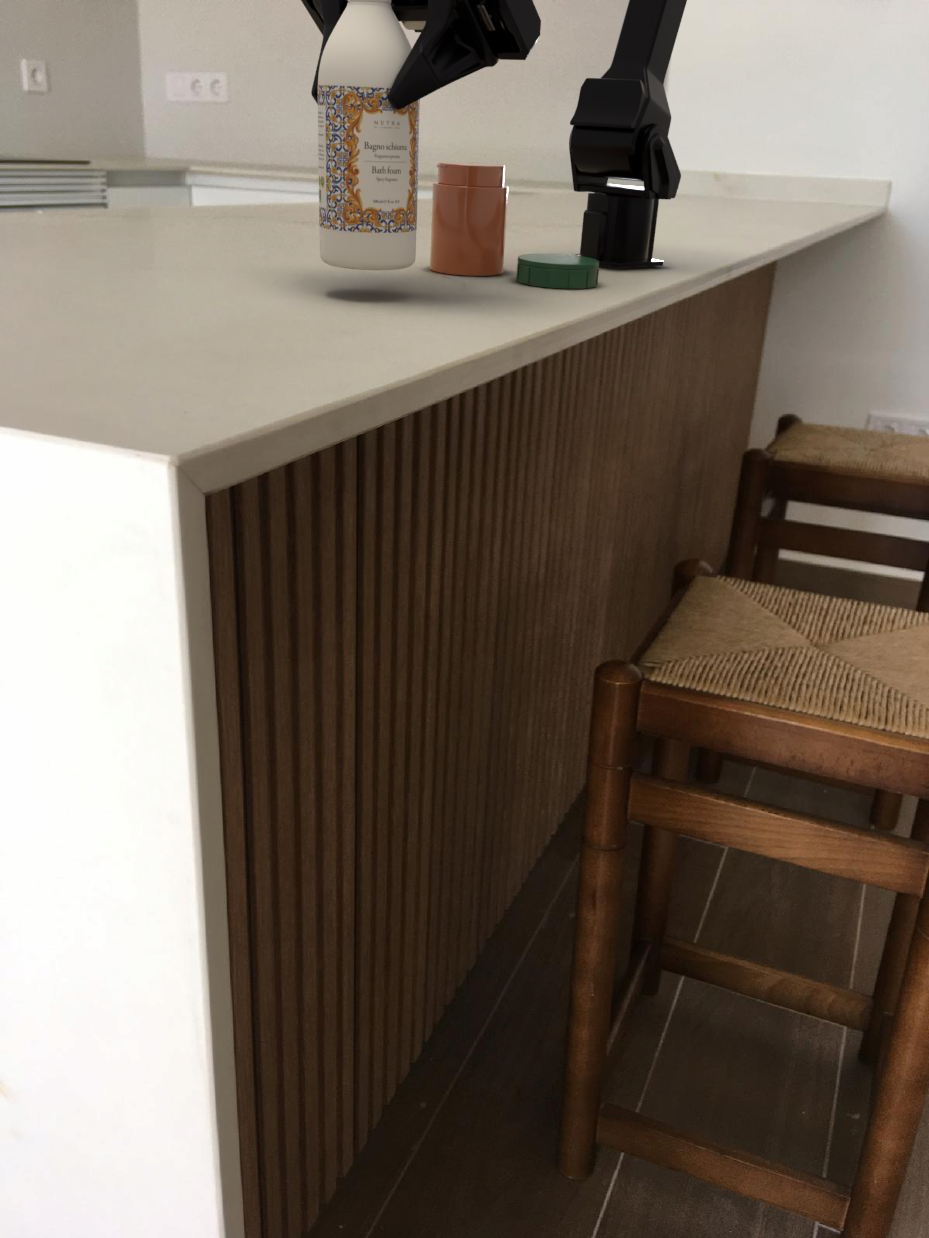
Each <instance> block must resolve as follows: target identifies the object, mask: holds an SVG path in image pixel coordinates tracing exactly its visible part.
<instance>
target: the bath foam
mask: <svg viewBox="0 0 929 1238" xmlns="http://www.w3.org/2000/svg"><path fill="white" fill-rule="evenodd" d="M390 4H391V0H348V3H347V7H346V8H345V10H344V12H343V14H342V15H341V17H340V19H339V21H338V22H337V24H336V26H335V28H334V29H333V31H332V33H331V35H330V37H329V39H328V41H327V43H326V46H325V48H324V51H323V54H322V58H321V62H320V67H319V75H318V85H317V86H318V104H317V144H318V145H317V146H318V147H317V149H318V152H317V153H318V155H317V156H318V223H319V224H318V226H319V255H320V259H321V261H322V262H323V263H324V264H326V265H328V266H331V267H335V268H339V269H340V268H341V269H348V270H359V271H393V270H403V269H407V268H409V267H412V266H413V265H414V263H415V262H416V257H417V230H418V193H419V192H418V190H419V189H418V188H419V187H418V186H419V151H420V150H419V148H420V147H419V145H420V142H419V141H420V110H421V109H420V107H421V105H420V101H421V99H419V100H417V101H415V102H413V103H411V104H409V105H408V106H406V107H404V108H402V109H400V110H395V109H393V107H392V106H391V104H390V102H389V101H388V94H389V92H390V90H391V87H392V85H393V83H394V81H395V78H396V76H397V75H398V73H399V71H400V69H401V67H402V66H403V64H404V62H405V60H406V58H407V57H408V55H409V53H410V51H411V50H412V48H413V47H412V46H411V44H410V41H409V38H408V37H407V35H406V33H405V31H404V29H403V27H402V25H401V23H400V21H398V19H397V18H396V16H395V14H394V12H393V10H392V8H391V5H390Z"/></svg>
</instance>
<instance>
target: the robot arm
mask: <svg viewBox="0 0 929 1238" xmlns="http://www.w3.org/2000/svg"><path fill="white" fill-rule="evenodd" d="M300 1H301V3H302V4H303V6H304V8H305V9H306V11H307V12H308V14H309V16H310V17H311V20H313V22H314V24H315V25H316V27H317V29H318V30H319V32H320V33H321V35H322V41H321V46H320V51H319V55H318V60H317V64H316V68H315V73H314V74H315V75H314V78H313V82H312V86H311V92H310V93H311V97H312V98H313V100H314V101H315V102H316V104H317V105H318V86H317V85H318V75H319V67H320V62H321V58H322V54H323V51H324V48H325V46H326V43H327V41H328V39H329V37H330V35H331V33H332V31H333V29H334V28H335V26H336V24H337V22H338V21H339V19H340V17H341V15H342V14H343V12H344V10H345V8H346V7H347V3H348V0H300ZM687 2H688V0H628V3H627V7H626V11H625V14H624V17H623V20H622V21H623V22H622V23H621V28H620V32H619V35H618V40H617V43H616V46H615V50H614V53H613V54H614V55H613V57H612V61H611V63H610V67H609V68H608V69H607V70H606V72H604V74H603V75H602V76H601V77H586V78H585V79H584V82H583V83H582V85H581V87H580V89H579V94H578V100H577V104H576V107H575V111H574V113H573V115H572V118H571V119H570V121H569V125H570V126H572V129H571V131H570V134H569V140H568V149H569V159H570V168H571V169H570V170H571V175H572V176H571V177H572V178H571V179H572V187H573V188H572V189H573V191H574V192H577V193H587V200H586V201H587V202H586V204H587V205H586V209H585V210H584V212H583V215H582V228H581V238H580V249H579V253H572V254H571V255H574V256H582V257H588V258H592V259H596V260H598V261H599V266H602V267H603V266H604V267H609V268H614V269H620V268H643V267H663V266H664V260H661V259H656V258H653V254H654V245H655V238H656V237H655V236H656V229H657V221H658V214H659V213H658V212H659V204H660V200H672V199H675V198H676V196H677V192H678V189H679V185H680V182H681V179H682V174H681V173H682V172H681V170H680V167H679V164H678V161H677V159H676V156H675V153H674V150H673V147H672V144H671V141H670V139H669V134H670V128H671V123H672V113H671V109H670V106H669V102H668V101H669V100H668V98H667V95H666V94H667V93H666V90H665V89H666V88H665V86H664V84H665V79H666V76H667V75H666V74H667V72H668V68H669V64H670V61H671V57H672V53H673V50H674V49H675V48H674V47H675V44H676V40H677V36H678V33H679V30H680V26H681V23H682V20H683V17H684V12H685V10H686V6H687ZM390 5H391V8H392V10H393V12H394V14H395V16H396V18H397V19H398V21H399V22H401V24H402V26H403V27H404V28H405V29H406V30H410V31H414V33H419V35H418V37H417V39H416V41H415V43H414V44H413V46H412V47H411V48H412V50H411V51H410V53H409V55H408V57H407V58H406V60H405V62H404V64H403V66H402V67H401V69H400V71H399V73H398V75H397V76H396V78H395V81H394V83H393V85H392V87H391V90H390V92H389V94H388V101H389V102H390V104H391V106H392V107H393V109H395V110H400V109H402V108H404V107H406V106H408V105H409V104H411V103H413V102H415V101H417V100H419V99H420V100H421V99H423V98H425V97H427V96H429V95H430V94H432V93H434V92H436V91H438V90H440V89H442V88H444V87H446V86H449V85H450V84H452V83H454V82H456V81H458V80H460V79H463V78H465V77H467V76H469V75H471V74H474V73H476V72H479V71H481V70H483V69H485V68H494V67H495V66H496V65H497V64H498V63H499V60H504V61H526V60H527V58H528V56H529V55H530V53H531V52H532V50H533V49H534V47H535V45H536V43H537V42H538V41H539V38H540V36H541V27H542V19H541V17H540V15H539V13H538V11H537V8H536V5H535V3H534V1H533V0H391V4H390ZM609 179H610V180H611V179H612V180H619V181H620V180H621V181H630V182H631V181H632V182H642V183H643V186H636V185H627V184H626V185H625V184H615V183H608V181H609Z"/></svg>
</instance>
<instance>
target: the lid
mask: <svg viewBox="0 0 929 1238" xmlns="http://www.w3.org/2000/svg"><path fill="white" fill-rule="evenodd" d="M599 273H600V265H599V261H598V260H596V259H592V258H588V257H582V256H574V255H572V254H564V253H563V254H562V253H561V254H560V253H524V254H520V255H518V256H517V264H516V279H515V280H516V282H517V283H519V284H522V285H527V286H532V287H539V288H546V289H560V290H583V289H590V288H591V289H592V288H595V287H597V286H598V282H599Z"/></svg>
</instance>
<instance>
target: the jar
mask: <svg viewBox="0 0 929 1238" xmlns="http://www.w3.org/2000/svg"><path fill="white" fill-rule="evenodd" d="M436 168H437V181H434V182H433V183H432V195H431V197H432V200H431V205H432V206H431V224H430V225H431V229H430V234H431V235H430V256H429V257H430V259H429V269H430V270H431V271H433V272H436V273H439V274H445V275H452V276H453V275H454V276H464V277H466V276H467V277H490V276H492V277H493V276H498V275H501V274H504V268H505V267H504V266H505V249H506V234H507V216H508V204H509V203H508V201H509V186H508V185H505V176H506V172H505V171H506V166H505V165H503V164H498V163H488V162H487V163H486V162H470V161H438V163H437V164H436Z"/></svg>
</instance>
